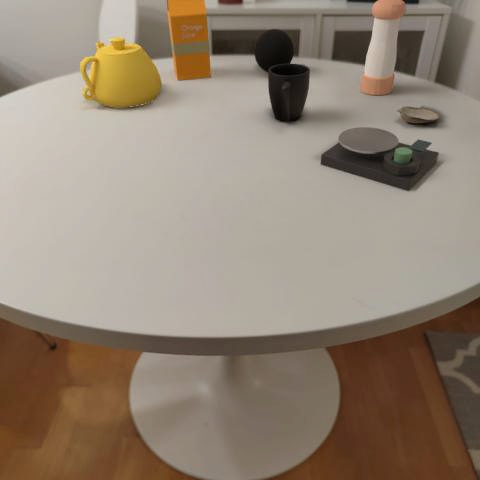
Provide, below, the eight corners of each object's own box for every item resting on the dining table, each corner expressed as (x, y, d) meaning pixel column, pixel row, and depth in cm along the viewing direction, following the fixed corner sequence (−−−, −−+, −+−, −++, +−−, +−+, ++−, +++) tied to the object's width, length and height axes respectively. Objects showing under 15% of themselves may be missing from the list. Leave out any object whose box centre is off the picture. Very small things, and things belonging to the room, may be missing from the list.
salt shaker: (397, 88, 107) (415, -7, 95) (382, 97, 103) (399, -2, 91) (369, 82, 111) (383, -10, 98) (354, 91, 107) (366, -5, 94)
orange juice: (211, 77, 118) (205, -15, 105) (177, 80, 117) (166, -12, 104) (206, 68, 124) (199, -20, 111) (174, 71, 123) (163, -17, 109)
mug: (262, 131, 91) (262, 81, 85) (271, 109, 100) (271, 62, 94) (303, 133, 90) (306, 83, 84) (308, 110, 99) (311, 63, 92)
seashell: (439, 133, 92) (421, 110, 96) (447, 120, 90) (428, 97, 94) (404, 132, 89) (387, 109, 94) (412, 119, 87) (394, 95, 91)
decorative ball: (295, 67, 122) (297, 25, 116) (289, 79, 115) (291, 35, 108) (258, 66, 124) (258, 24, 117) (251, 77, 117) (250, 34, 110)
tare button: (412, 160, 73) (415, 149, 72) (406, 166, 72) (408, 155, 71) (397, 155, 75) (399, 145, 73) (390, 161, 73) (392, 151, 72)
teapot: (176, 98, 107) (168, 38, 99) (101, 119, 99) (86, 55, 90) (136, 78, 119) (126, 23, 111) (67, 95, 111) (51, 37, 103)
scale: (436, 162, 79) (441, 143, 77) (407, 191, 72) (412, 171, 70) (353, 140, 87) (355, 122, 84) (320, 164, 80) (322, 145, 77)
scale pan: (431, 143, 77) (432, 141, 76) (407, 166, 71) (407, 164, 71) (355, 125, 84) (355, 122, 83) (327, 144, 78) (327, 142, 78)
